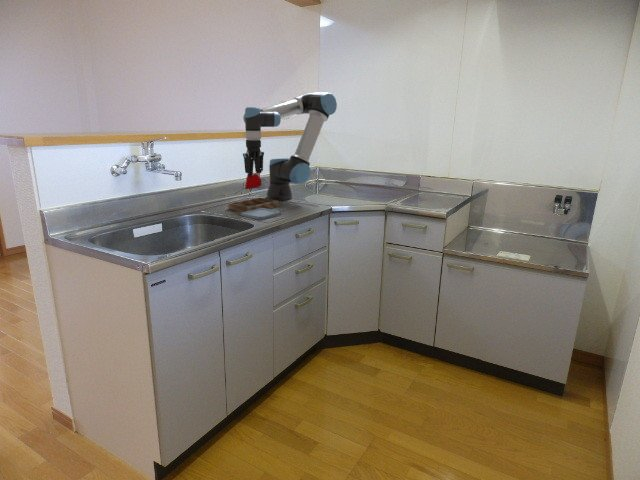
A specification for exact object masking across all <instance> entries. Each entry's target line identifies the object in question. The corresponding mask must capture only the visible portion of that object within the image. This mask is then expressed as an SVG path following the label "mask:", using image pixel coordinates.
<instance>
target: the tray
mask: <svg viewBox="0 0 640 480" xmlns="http://www.w3.org/2000/svg"><path fill="white" fill-rule="evenodd" d="M239 215H240V217H243V218H244V217H245V218H249V219H254V220H257V221H262V220H267V219H270V218H271V219H272V218H273V217H278V216H281V215H282V211H279V210H274V209H271V208H270V209H265V208H259V209H254V210H250V211H246V212H240V213H239Z"/></svg>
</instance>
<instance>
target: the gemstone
mask: <svg viewBox="0 0 640 480" xmlns="http://www.w3.org/2000/svg"><path fill="white" fill-rule="evenodd" d="M254 173H255V172H253V174H254ZM262 185H263V184H262V179H261V177H260V178H259V176H258V175H257V174H254V175H252V176H251V178H249V175H248V174H247V176H246V181H245V187H244V190H252V189H255V188H256V189H257V188H260V187H261V186H262Z"/></svg>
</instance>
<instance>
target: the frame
mask: <svg viewBox="0 0 640 480" xmlns="http://www.w3.org/2000/svg"><path fill="white" fill-rule="evenodd" d="M279 204H280V200H273V199H268V198H267V197H266V198H265V197H254V198H248V199H244V200H239V201H234V202H229V203H228V210H231V211H235V212H240V213H241V212H246V211H250V210H254V209H259V208H265V209H270V210H271V209H273V208H274V209H275V208H277V207H279Z"/></svg>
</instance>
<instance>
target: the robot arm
mask: <svg viewBox="0 0 640 480" xmlns="http://www.w3.org/2000/svg"><path fill="white" fill-rule="evenodd" d="M337 108H338V104H337V99H336V97H335V96H334V94H333V93H331V92H325V91H324V92H308V93H305V94H302V95H300V96H297V97H294V98H292V99H291V100H288V101H285V102H281V103H278V104H274V105H271V106H266V107H262V108H260V107H256V106H255V107H253V106H247V107H245V109H244V114H243V122H244V125H245V139H246V140H245V147H246V152H245V153H242V157H243V162H244V163H243V165H244V173H246V174H247V175H249V178H251V176H252V175H254V174H257V175H258V176H259V178H260V179H261V174H262V172H263V171H264V155H265V152H264V151H261V147H262V140H261V139H262V132H261V130H262V128H275V127H279V126H280V124H281V120H282V119H283V118H286V117H290V116H293V115H303V114H308V115H309V117H308V119H307V121H306V124H305V127H304V129H303V132H302V134H301V137H300V139H299V142H298V145H297V147H296V150H295V152H294V154H292V155H291V156H290V157H285V158H282V157H281V158H272V159H270V160H269V165H268V166H269V169H268V170H269V171H268V172H269V185H268V188H267V192H266V199H271V200H277V201H285V200H292V199H293V193H292V189H291V185H290V184H294V185H302V184H304V183H306V182H307V181H308V180H309V179H310V177H311V173H312V172H311V167H310V165H311V163H310V161H309V160H310V157H311V156H312V153H313V150H314V148H315V145H316V142H317V140H318V138H319V136H320V133H321V130H322V127H323V125H324V123H325V122H327V121H328V119H329V117H330V116H331V115H333V114H335V113H336V111H337ZM254 170H255V172H254ZM253 173H254V174H253Z"/></svg>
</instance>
